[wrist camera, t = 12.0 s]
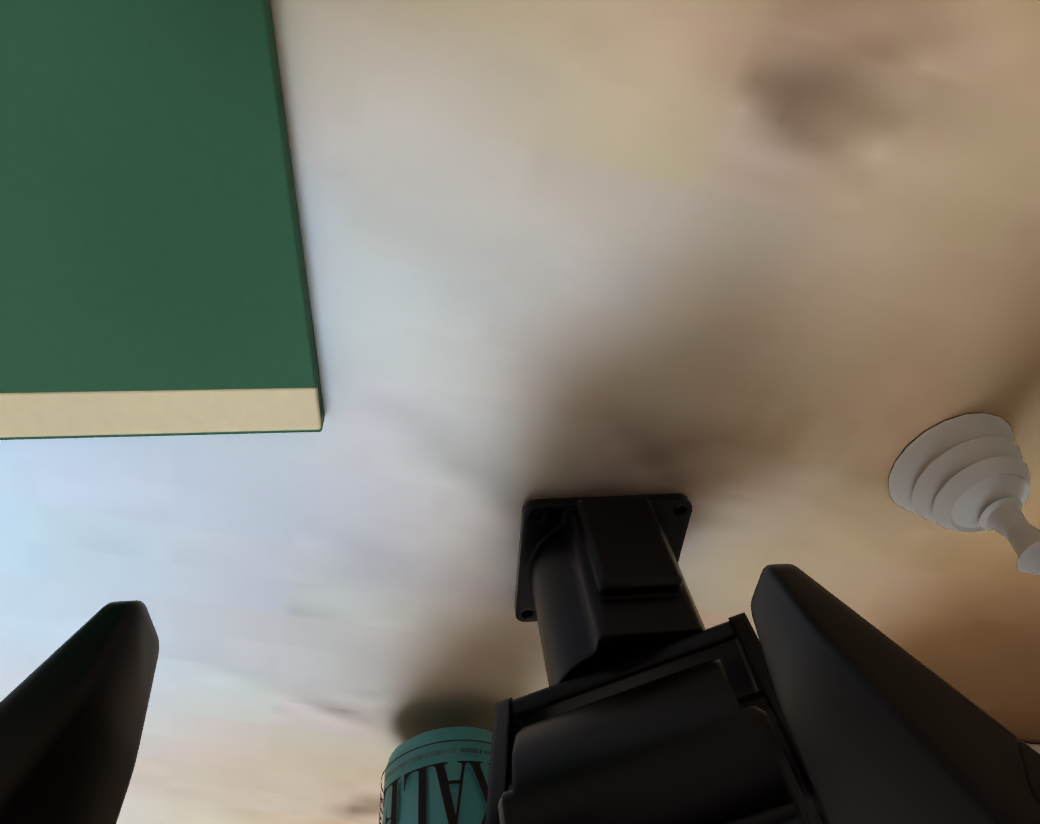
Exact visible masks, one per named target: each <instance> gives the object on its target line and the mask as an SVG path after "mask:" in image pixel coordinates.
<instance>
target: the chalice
mask: <svg viewBox="0 0 1040 824" xmlns="http://www.w3.org/2000/svg"><path fill="white" fill-rule="evenodd" d="M1029 490H1030V472H1029V469H1028V466H1027V464H1025V463H1024V462H1023V457H1022V454H1021V451H1020V448H1019V446H1018V445H1017V444H1015V440H1014V436H1013V433H1012V429H1011V426H1010V425H1009V424H1008V423H1006V422H1005V421H1004V420H1003V419H1002V418H1001V417H998V416H994V415H990V414H987V413H978V414H965V415H962V416H959V417H956V418H952V419H949V420H946V421H944V422H942V423H940V424H938V425H936V426H935V427H933V428H931V429H929V430H927V431H926V432H924V433H923V434H922V435H921V436H919V437H918V438H917V439H916V440H915V441H913V442H912V443H911V444H910V445H909V446H908V447H907V448H906V449H905V450H904V452H903V453H902V454H901V456H900V457H899V458H898V459H897V461H896V462H895V464H894V467H893V469H892V471H891V474H890V476H889V493H890V495H891V497H892V499H893V501H894V503H896V504H897V505H899V506H900V507H902V508H903V509H904V510H908V511H912V512H916V513H917V514H918V515H920V516H921V517H923V518H924V519H926V520H930V521H933V522H936V523H937V524H938V525H940V526H941V527H943V528H945V529H951V530H956V531H964V532H975V531H982V530H995V531H996V532H998V533H999V534H1001V535H1002V536H1004V537H1005V538H1007V539H1008V540H1009V542H1010V544H1011V545H1012V547H1013V548H1014V550H1015V552H1016V553H1017V555H1018V559H1017V568H1018V570H1019V571H1021V572H1023V573H1028V574H1037V575H1038V576H1040V530H1039V529H1037V528H1035V527H1034V526H1032V525H1031V524H1029V523H1028V521H1027V520H1026V518H1025V517H1024V515H1023V514H1022V512H1021V509H1022V506H1023V504H1024V503H1025V501H1026V499H1027V497H1028V496H1029Z"/></svg>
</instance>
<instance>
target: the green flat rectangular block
mask: <svg viewBox="0 0 1040 824" xmlns="http://www.w3.org/2000/svg"><path fill="white" fill-rule="evenodd" d="M323 422H324V411H323V403H322V396H321V388H320V380H319V373H318V365H317V357H316V350H315V342H314V334H313V327H312V319H311V312H310V304H309V296H308V289H307V281H306V273H305V266H304V258H303V250H302V243H301V235H300V228H299V220H298V212H297V205H296V197H295V189H294V182H293V174H292V166H291V159H290V151H289V143H288V136H287V128H286V121H285V113H284V105H283V98H282V90H281V82H280V75H279V67H278V59H277V52H276V44H275V37H274V29H273V21H272V14H271V6H270V0H0V440H13V439H52V438H91V437H130V436H169V435H208V434H247V433H286V432H320V431H322V427H323Z"/></svg>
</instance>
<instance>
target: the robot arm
mask: <svg viewBox="0 0 1040 824" xmlns="http://www.w3.org/2000/svg"><path fill="white" fill-rule="evenodd" d="M677 506H680V507H678V508H676V507H677ZM534 512H540V513H539V514H532V513H534ZM691 512H692V505H691V503H690V501H689V499H688V497H687V496H686V495H684V494H657V495H632V496H607V497H582V498H558V499H536V500H531V501H529V502H527V503H526V504H525V505H524V506H523V509H522V519H521V532H520V544H519V557H518V569H517V582H516V595H515V614H516V618H517V619H518V620H520V621H522V622H532V621H538V627H539V633H540V638H541V644H542V650H543V655H544V661H545V667H546V672H547V678H548V684H549V687H547V688H544V689H542V690H539V691H536V692H534V693H531V694H528V695H525V696H523V697H520V698H517V699H514V700H513V699H512V698H509V699H506V700H503V701H501V702H498V703H496V706H495V718H494V727H493V730H492V743H491V755H490V768H489V781H488V794H487V807H486V820H485V824H1040V754H1039V753H1038V752H1036V751H1035V750H1034V749H1033V748H1031V747H1030V746H1029V745H1027V744H1026V743H1025V742H1023V741H1021V740H1017V737H1016V736H1015V735H1014V734H1013V733H1011V732H1010V731H1009V730H1008V729H1006V728H1005V727H1004V726H1002V725H1001V724H1000V723H999V722H997V721H996V720H995V719H993V718H992V717H991V716H989V715H988V714H987V713H986V712H984V711H983V710H982V709H980V708H979V707H978V706H976V705H975V704H974V703H973V702H971V701H970V700H969V699H967V698H966V697H965V696H964V695H962V694H961V693H960V692H958V691H957V690H956V689H954V688H953V687H952V686H951V685H949V684H948V683H947V682H945V681H944V680H943V679H941V678H940V677H939V676H938V675H936V674H935V673H934V672H932V671H931V670H930V669H929V668H927V667H926V666H925V665H923V664H922V663H921V662H919V661H918V660H917V659H916V658H914V657H913V656H912V655H910V654H909V653H908V652H906V651H905V650H904V649H903V648H901V647H900V646H899V645H897V644H896V643H895V642H894V641H892V640H891V639H890V638H888V637H887V636H886V635H884V634H883V633H882V632H881V631H879V630H878V629H877V628H875V627H874V626H873V625H871V624H870V623H869V622H868V621H866V620H865V619H864V618H862V617H861V616H860V615H859V614H857V613H856V612H855V611H853V610H852V609H851V608H849V607H848V606H847V605H846V604H844V603H843V602H842V601H840V600H839V599H838V598H836V597H835V596H834V595H833V594H831V593H830V592H829V591H827V590H826V589H825V588H824V587H822V586H821V585H820V584H818V583H817V582H816V581H814V580H813V579H812V578H811V577H809V576H808V575H807V574H805V573H804V572H803V571H801V570H800V569H799V568H797V567H796V566H794V565H792V564H775V565H767V566H766V567H765V568H764V569H763V571H762V573H761V576H760V579H759V581H758V584H757V587H756V589H755V592H754V595H753V597H752V601H751V611H752V616H753V620H754V623H755V626H756V630H757V633H758V636H759V639H758V637H757V635H756V633H755V632H754V630H753V628H752V626H751V624H750V622H749V620H748V618H747V616H746V615H745V613H741V614H738V615H736V616H733V617H730V618H728V619H729V621H728V622H725V623H722V624H720V625H717V626H714V627H711V628H709V629H706V630H705V627H704V625H703V623H702V620H701V618H700V616H699V613H698V611H697V608H696V606H695V604H694V601H693V599H692V596H691V594H690V592H689V589H688V587H687V585H686V582H685V580H684V577H683V575H682V573H681V570H680V568H679V565H678V560H679V556H680V552H681V549H682V545H683V541H684V538H685V534H686V530H687V527H688V523H689V519H690V516H691ZM759 640H760V641H759ZM158 654H159V640H158V636H157V633H156V631H155V628H154V625H153V623H152V620H151V618H150V615H149V613H148V610H147V608H146V606H145V604H144V603H143V602H141V601H137V600H136V601H119V602H111V603H109V604H107V605H106V606H104V607H103V608H102V609H101V610H100V611H99V612H97V613H96V614H95V615H94V616H93V617H92V618H91V619H90V620H89V621H88V622H87V623H86V624H85V625H83V626H82V627H81V628H80V629H79V630H78V631H77V632H76V633H75V634H74V635H73V636H72V637H70V638H69V639H68V640H67V641H66V642H65V643H64V644H63V645H62V646H61V647H60V648H59V649H57V650H56V651H55V652H54V653H53V654H52V655H51V656H50V657H49V658H48V659H47V660H46V661H45V662H43V663H42V664H41V665H40V666H39V667H38V668H37V669H36V670H35V671H34V672H33V673H32V674H30V675H29V676H28V677H27V678H26V679H25V680H24V681H23V682H22V683H21V684H20V685H19V686H17V687H16V688H15V689H14V690H13V691H12V692H11V693H10V694H9V695H8V696H7V697H6V698H5V699H3V700H2V701H1V702H0V824H116V822H117V819H118V816H119V813H120V810H121V807H122V804H123V801H124V798H125V795H126V792H127V789H128V786H129V783H130V779H131V776H132V773H133V769H134V766H135V762H136V758H137V753H138V749H139V745H140V740H141V735H142V730H143V726H144V721H145V716H146V711H147V707H148V702H149V697H150V692H151V688H152V683H153V678H154V673H155V669H156V664H157V659H158Z"/></svg>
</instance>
